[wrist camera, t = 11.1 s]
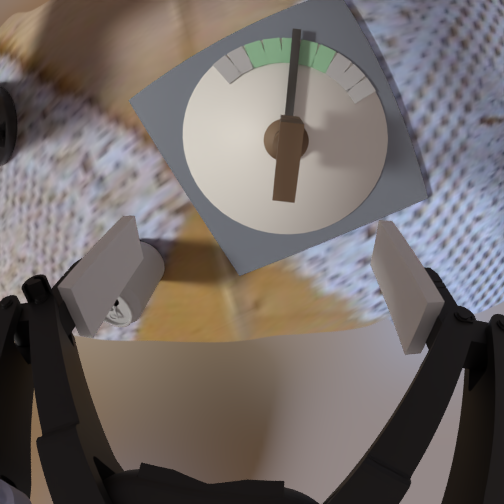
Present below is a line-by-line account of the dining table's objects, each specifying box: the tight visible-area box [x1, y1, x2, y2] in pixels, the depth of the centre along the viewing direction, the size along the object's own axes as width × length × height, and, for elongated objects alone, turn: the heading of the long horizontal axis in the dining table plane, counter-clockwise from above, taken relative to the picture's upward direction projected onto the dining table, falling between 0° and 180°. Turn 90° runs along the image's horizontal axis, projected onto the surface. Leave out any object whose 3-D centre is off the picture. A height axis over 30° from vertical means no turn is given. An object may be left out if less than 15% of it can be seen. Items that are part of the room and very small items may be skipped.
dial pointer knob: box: [264, 28, 309, 203], centre depth 25 cm, size 5×16×11 cm, turn 176°
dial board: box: [129, 0, 428, 276], centre depth 33 cm, size 28×28×2 cm
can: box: [104, 241, 165, 327], centre depth 39 cm, size 8×8×12 cm
